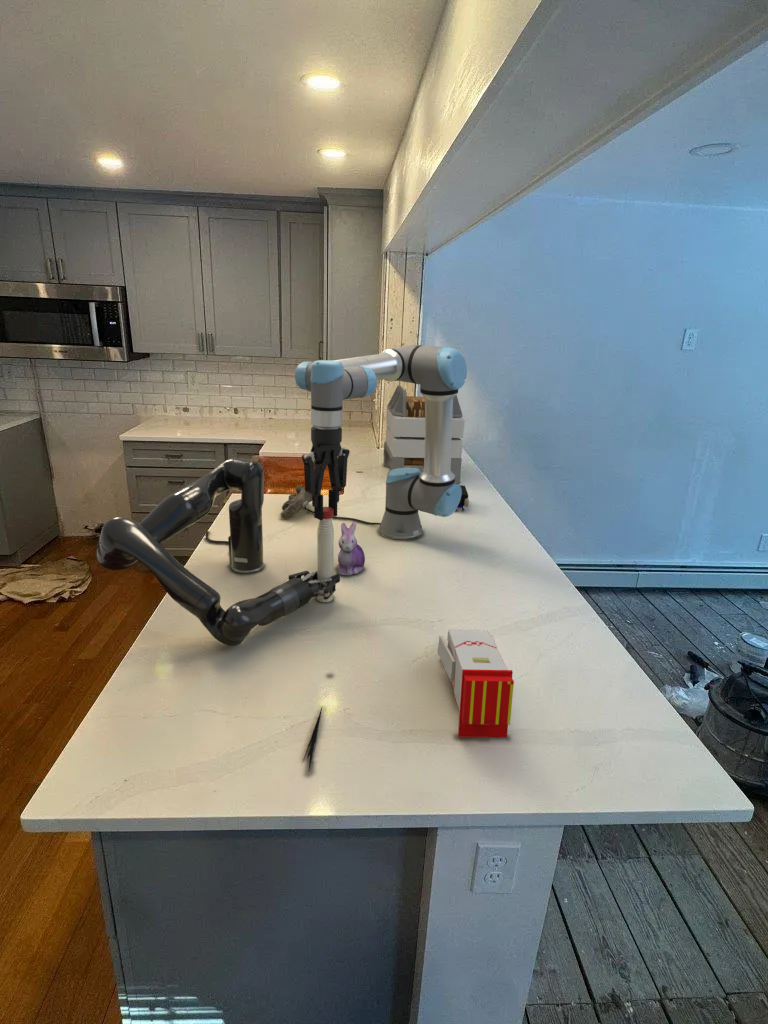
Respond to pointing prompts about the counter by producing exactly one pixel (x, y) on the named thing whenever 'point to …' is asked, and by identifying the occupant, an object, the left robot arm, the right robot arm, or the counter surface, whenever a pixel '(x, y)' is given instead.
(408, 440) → the white slatted crate
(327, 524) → the bottle
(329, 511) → the cap
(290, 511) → the fossil
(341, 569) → the figurine
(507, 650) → the counter surface
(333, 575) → the left robot arm
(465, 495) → the figurine character
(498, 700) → the toy
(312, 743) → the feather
